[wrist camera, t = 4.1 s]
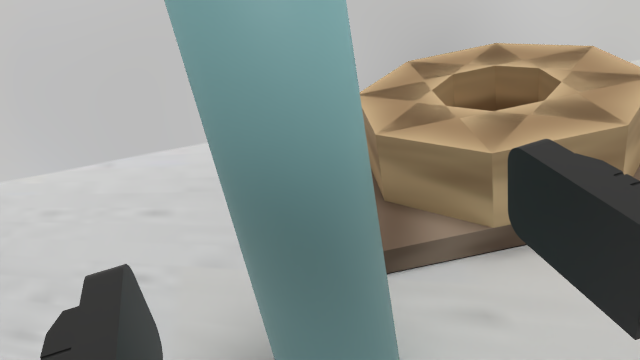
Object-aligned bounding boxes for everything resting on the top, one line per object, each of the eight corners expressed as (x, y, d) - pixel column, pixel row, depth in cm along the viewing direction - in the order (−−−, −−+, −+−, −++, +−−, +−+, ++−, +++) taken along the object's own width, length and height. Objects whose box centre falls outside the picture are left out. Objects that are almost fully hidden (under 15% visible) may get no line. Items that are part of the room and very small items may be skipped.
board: (303, 290, 23) (297, 268, 22) (287, 158, 34) (283, 141, 34) (806, 185, 23) (813, 160, 22) (623, 89, 34) (625, 71, 34)
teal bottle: (289, 444, 17) (94, -155, 9) (283, 348, 20) (140, -141, 12) (415, 417, 17) (329, -202, 9) (387, 326, 20) (309, -175, 12)
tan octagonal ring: (403, 246, 22) (394, 173, 20) (353, 127, 34) (345, 74, 32) (709, 182, 22) (725, 104, 21) (555, 85, 34) (557, 30, 32)
